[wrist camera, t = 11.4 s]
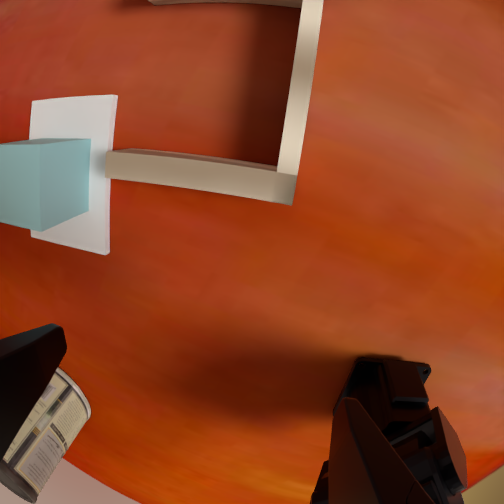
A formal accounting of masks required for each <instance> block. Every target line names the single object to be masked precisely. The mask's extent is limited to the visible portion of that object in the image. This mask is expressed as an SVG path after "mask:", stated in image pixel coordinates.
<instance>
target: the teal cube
mask: <svg viewBox="0 0 504 504" xmlns="http://www.w3.org/2000/svg"><path fill="white" fill-rule="evenodd" d="M90 149H91V139H80V138H40V139H32V140H24V141H17V142H10V143H3V144H0V222H2V223H6V224H10V225H14V226H18V227H22V228H27V229H31V230H35V231H39V232H43V231H45V230H47V229H49V228H51V227H54V226H56V225H58V224H60V223H62V222H64V221H67V220H69V219H71V218H73V217H76V216H78V215H80V214H83V213H85V212H87V211H89V167H90Z"/></svg>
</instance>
